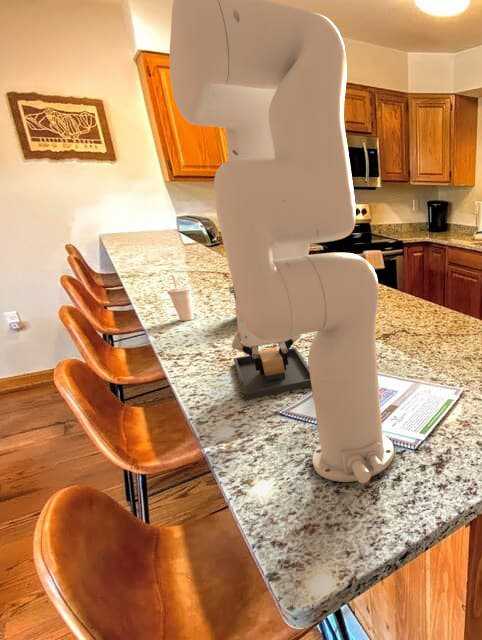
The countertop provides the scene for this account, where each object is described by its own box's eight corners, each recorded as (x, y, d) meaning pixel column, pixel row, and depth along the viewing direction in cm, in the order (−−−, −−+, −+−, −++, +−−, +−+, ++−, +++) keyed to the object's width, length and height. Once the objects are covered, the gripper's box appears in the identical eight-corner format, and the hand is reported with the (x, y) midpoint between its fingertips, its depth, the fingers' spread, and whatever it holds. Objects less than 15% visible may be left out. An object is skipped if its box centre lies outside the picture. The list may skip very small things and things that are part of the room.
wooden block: (285, 377, 94) (282, 358, 92) (266, 381, 92) (262, 361, 90) (280, 366, 99) (276, 348, 97) (261, 369, 98) (258, 351, 96)
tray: (317, 387, 91) (316, 378, 90) (245, 403, 84) (243, 394, 83) (297, 355, 108) (295, 347, 107) (235, 366, 101) (233, 358, 100)
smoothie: (178, 317, 138) (166, 273, 132) (200, 315, 139) (189, 272, 134) (172, 322, 132) (160, 277, 126) (196, 321, 134) (184, 276, 128)
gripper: (212, 298, 81) (233, 385, 89) (302, 288, 89) (314, 368, 96) (210, 290, 87) (230, 372, 95) (295, 281, 95) (307, 358, 102)
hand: (272, 369), depth 95 cm, fingers closed on wooden block, 4 cm apart
